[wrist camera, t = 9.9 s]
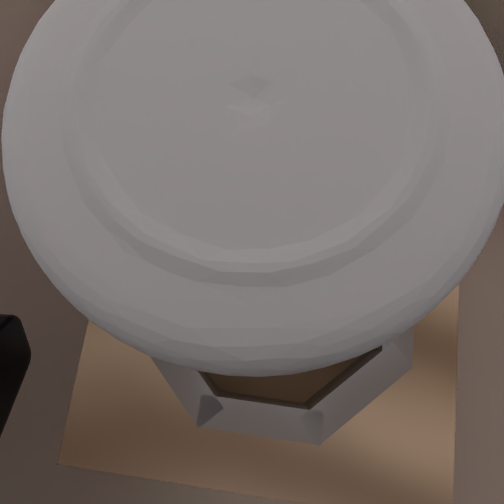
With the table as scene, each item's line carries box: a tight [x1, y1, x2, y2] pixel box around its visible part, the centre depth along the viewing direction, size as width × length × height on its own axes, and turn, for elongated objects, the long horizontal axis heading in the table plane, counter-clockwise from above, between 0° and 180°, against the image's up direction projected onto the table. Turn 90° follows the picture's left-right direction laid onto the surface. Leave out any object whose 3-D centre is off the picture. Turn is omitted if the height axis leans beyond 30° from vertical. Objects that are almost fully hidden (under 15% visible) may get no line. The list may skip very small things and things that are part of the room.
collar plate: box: [57, 284, 459, 504], centre depth 16 cm, size 14×14×3 cm
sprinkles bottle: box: [1, 0, 504, 377], centre depth 10 cm, size 5×5×13 cm
